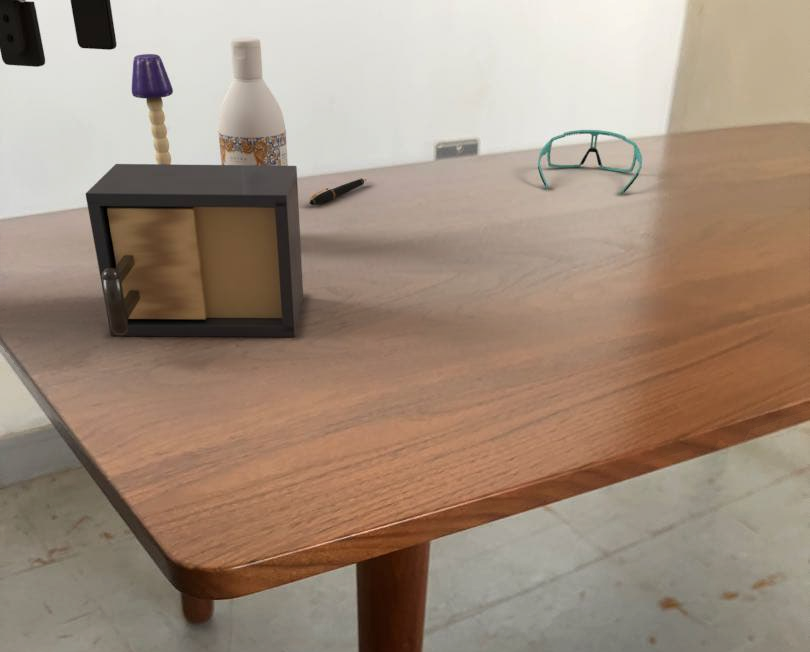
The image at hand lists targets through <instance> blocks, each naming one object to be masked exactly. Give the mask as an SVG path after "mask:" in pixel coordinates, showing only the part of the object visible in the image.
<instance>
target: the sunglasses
mask: <svg viewBox="0 0 810 652" xmlns="http://www.w3.org/2000/svg"><path fill="white" fill-rule="evenodd" d="M574 135H591V139H590V140H591V141H590V145H589V146H590V147H589V149H587V151H586V153H585V154H584V155H583V158H581V160H580V162H579V164H555V163H552V161H551V153H552V152H551V151H552V147H553V146H552V145H553V142H554V141H556V140H559V139H563V138H566V136H567V137H569V136H574ZM599 135H601V136H602V135H603V136H608V137H613V138H616V139H620V140H622V141H624V142H626V143H628V144H630V145H631V146H633V158H632V163H631V166H630V168H625V169H624V168H614V167H607V166H603V163H602V159H601V157H600V154H599V150H598V148H597V144H598V143H597V141H598V136H599ZM590 153H595V156H596V161H597V165H598V167H600V169H602V170H606V171H611V172H612V171H613V172H619V173H631V172H633V171H634V169H635V166H636V162H638V168H637V169H636V172H635V173H634V175H633V176H632V178H630V180H629V182H628V183H627V184H626V185H625V186H624V187H623V188H622V189H621V191H620V194H621V195H623V194H625V193H626V192H627V190H629V188H630V187H631V186H632V185H633V183H634V182H635V180H637V178H638V176H639V175H640V172H641V169H642V165H643V155H642V153H641V150H640V148H639V147H638V145H637V143H636V142H635V141H632V140H631V139H628V138H627V137H626V136H625V135H622V134H621V133H616V132H613V131H607V130H601V129H579V130H578V129H577V130H570V131H565V132H563V133H562V134H559V135H556V136H554V137H553V136H552V137H551V138H550V139H549V141H548V142H547V141H546V143H545V144H544V146H543V147H542V148H541V150H540V152H539V156H538V160H537V169H538V173H539V176H540V179H541V181H542V183H543V186H544V187H545V189H549V184H548V181H547V179H546V178H545V175H544V172H543V168H542V165H541V160H542V157H543V156H546V161H547V165H548V167H549V168H559V169H560V168H561V169H562V168H563V169H564V168H565V169H570V168H571V169H572V168H574V169H575V168H580V167H582V166H583V165H584V164H585V162H586V160H587V158H588V156H589V154H590Z"/></svg>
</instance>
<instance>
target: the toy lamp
mask: <svg viewBox="0 0 810 652" xmlns="http://www.w3.org/2000/svg"><path fill="white" fill-rule="evenodd" d="M131 75H132V76H131V95H132V96H133V97H135V98H138V99H145V101H146V106H147V108H148V110H149V111H148V118H149V122H150V123H151V126H150V130H151V134H152V137H153V141H152V143H153V148H154V150H155V161H156V164H171V163H172V156H171V153H170V151H169V150H170V142H169V139H168V137H167V136H168V135H167V134H168V129H167V126H166V124H165V121H166V115H165V113H164V110H163V107H164V104H163V103H164V102H163V99H162V98H166V97H169V96H171V95H173V93H174V89H173V86H172V83H171V80H170V78H169V75H168V73H167V70H166V67H165V65H164V62H163V60H162V58H161V56H160V55H159V54H155V53H145V54H138V55H135V56H134V58H133V61H132V74H131Z"/></svg>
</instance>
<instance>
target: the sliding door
mask: <svg viewBox="0 0 810 652" xmlns="http://www.w3.org/2000/svg"><path fill="white" fill-rule="evenodd" d="M107 214H108V220H109V226H110V232H111V238H112V244H113V250H114V256H115V262H116V267H115V268H114V269H113V268H107V269H105V270H104V271H103V273H102V281H103V287H104V293H105V298H106V304H107V309H108V315H109V321H110V326H111V330H112V331H113V332H114V333H115V334H117V335H123V334H125V333H126V332H127V331H128V328H129V325H128V319H206V317H207V311H206V302H205V294H204V285H203V276H202V267H201V259H200V250H199V241H198V233H197V224H196V215H195V207H151V206H108V207H107Z"/></svg>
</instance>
